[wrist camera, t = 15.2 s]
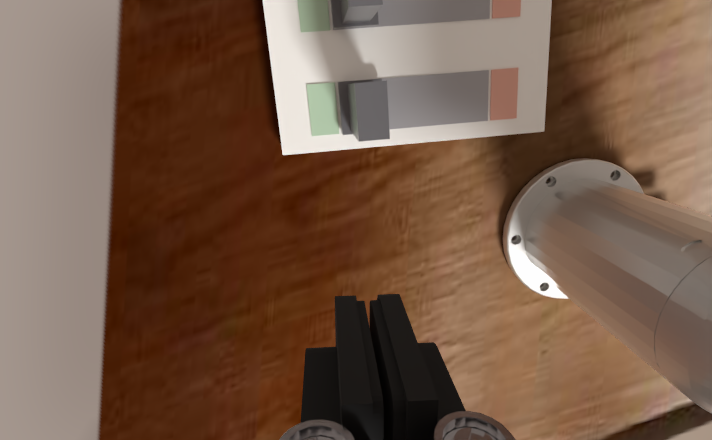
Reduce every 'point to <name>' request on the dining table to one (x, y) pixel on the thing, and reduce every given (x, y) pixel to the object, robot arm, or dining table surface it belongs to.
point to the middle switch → (355, 13)
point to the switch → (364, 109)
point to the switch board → (411, 69)
